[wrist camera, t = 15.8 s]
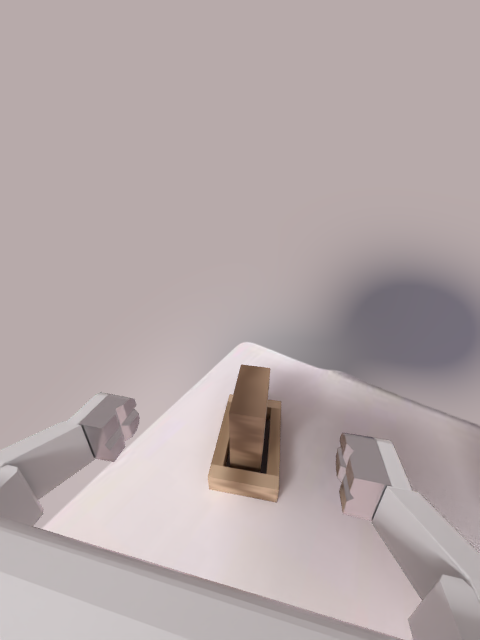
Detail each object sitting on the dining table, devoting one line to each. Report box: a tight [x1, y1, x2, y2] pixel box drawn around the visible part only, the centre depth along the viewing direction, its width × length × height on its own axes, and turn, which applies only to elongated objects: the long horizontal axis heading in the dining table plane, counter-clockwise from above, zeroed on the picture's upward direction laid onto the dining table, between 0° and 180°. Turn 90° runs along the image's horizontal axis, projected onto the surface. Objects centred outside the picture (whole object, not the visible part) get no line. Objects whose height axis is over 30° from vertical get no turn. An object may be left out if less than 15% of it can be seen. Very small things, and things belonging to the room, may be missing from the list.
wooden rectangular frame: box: [208, 394, 281, 502], centre depth 35 cm, size 8×13×3 cm, turn 170°
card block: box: [229, 365, 270, 473], centre depth 32 cm, size 4×8×12 cm, turn 170°
